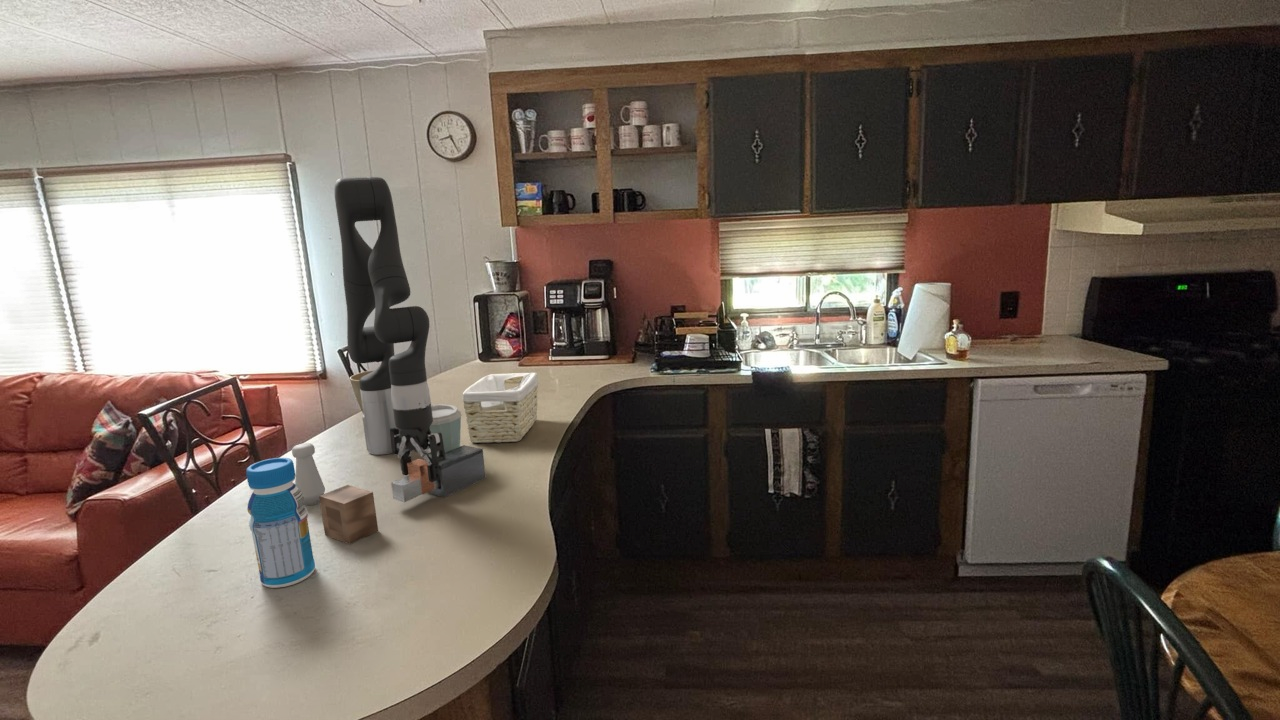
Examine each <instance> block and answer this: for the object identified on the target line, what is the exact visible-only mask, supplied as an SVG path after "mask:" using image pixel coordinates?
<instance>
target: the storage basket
mask: <svg viewBox="0 0 1280 720" xmlns="http://www.w3.org/2000/svg"><path fill="white" fill-rule="evenodd" d="M506 384H519V385H517V386H513V387H511V388H508V389H507V388H506ZM538 385H539V379H538V373H537V372H515V373H512V372H511V373H490V374H488V375H485V376H483V377H481V378H480V379H479V380H477V381H476V382H474V383H473V384H471V385H470V386H468V387H467V388H466V389H465V390H464V391H463V393H462V402H463V408H464V412H465V416H466V423H467V429H468V437H469V439H468V440H469V441H470V443H474V444H475V443H480V444H483V443H484V444H485V443H487V444H488V443H489V444H491V443H510V442H512V443H515V442H516V443H517V442H519V441H520V442H521V440H522V439H523V437H524V436H525V435H526V433H528V432H529V430H531V427H533V425H534V423H536V421H537V418H538V413H537V411H538Z"/></svg>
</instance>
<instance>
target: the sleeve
mask: <svg viewBox="0 0 1280 720" xmlns="http://www.w3.org/2000/svg"><path fill="white" fill-rule="evenodd" d="M438 456H440V455H438ZM445 457H446V459H445V460H444V461H441V462H439V472H440V482H441V486H440V487H438V488H436V489H434V490H432V491H430V492H428V493H427V494H431V495H433V496H434V495H435V496H438V497H443V498H446V497H449V496H451V495H452V494H455V493H457V492H459V491H461V490H464V489H465V488H468V487H470V486H472V485H474V484H477V483H478V482H481V481H483V480H485V479H486V467H485V466H486V465H485V458H484V449H483V448H480V447H476V446H475V447H474V446H470V445H464V444H463V445H460V447H458V448H455V449H453V450H450V451H448V452H445ZM431 459H432V458H431Z"/></svg>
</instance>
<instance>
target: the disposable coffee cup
mask: <svg viewBox="0 0 1280 720" xmlns="http://www.w3.org/2000/svg"><path fill="white" fill-rule="evenodd" d="M431 407H432V416H433V422H432V424H431V425H430V431H431V433H432V434H436V433H439V432H440V433H441V434H442V438H443V444H444V451H445V452H448V451H450V450H453V449H455V448H458V447H461V426H462V425H461V421H462V420H461V417H462V411H460V410H459V408H457V406H455V405H452V404H448V403H447V404H445V403H444V404H443V403H441V404H439V403H437V404H433V405H432V404H431ZM428 449H430V448H429V446H428V448H427V449H426V450H428ZM437 454H438V455H439V451H437ZM429 456H430V458H432V455H431V454H429Z"/></svg>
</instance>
